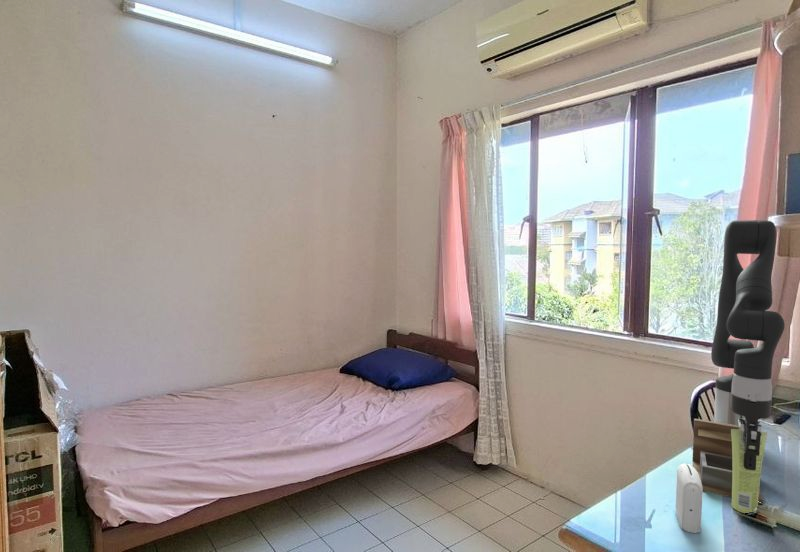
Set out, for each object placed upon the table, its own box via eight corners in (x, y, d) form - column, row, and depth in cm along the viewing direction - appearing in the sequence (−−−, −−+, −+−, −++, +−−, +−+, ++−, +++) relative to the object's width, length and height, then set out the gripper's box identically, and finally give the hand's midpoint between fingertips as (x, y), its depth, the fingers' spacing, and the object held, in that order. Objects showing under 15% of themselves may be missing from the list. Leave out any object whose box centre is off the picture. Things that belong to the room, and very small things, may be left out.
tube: (738, 500, 113) (742, 424, 112) (763, 511, 109) (767, 431, 107) (727, 507, 110) (730, 428, 109) (751, 518, 106) (755, 436, 104)
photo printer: (702, 535, 100) (705, 481, 99) (680, 530, 101) (682, 477, 100) (694, 510, 109) (696, 460, 108) (673, 506, 111) (675, 457, 110)
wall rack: (692, 461, 133) (694, 418, 132) (752, 474, 126) (754, 428, 125) (694, 488, 119) (696, 440, 118) (762, 504, 111) (765, 452, 111)
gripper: (728, 383, 115) (725, 448, 117) (735, 400, 103) (731, 472, 104) (766, 388, 111) (762, 455, 113) (777, 406, 99) (773, 481, 100)
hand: (747, 463), depth 108 cm, fingers open, 5 cm apart
